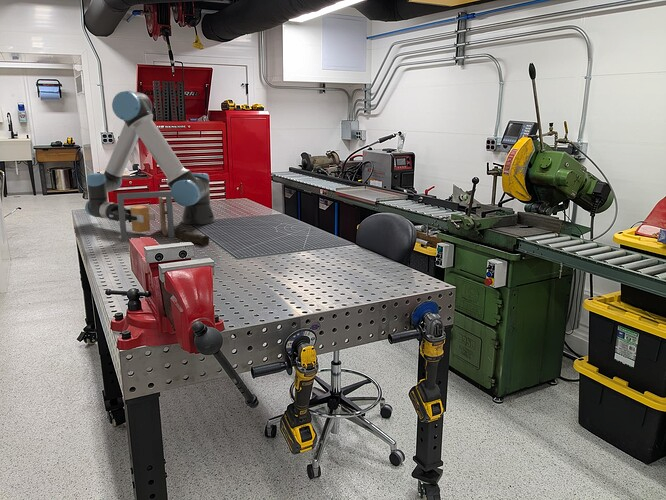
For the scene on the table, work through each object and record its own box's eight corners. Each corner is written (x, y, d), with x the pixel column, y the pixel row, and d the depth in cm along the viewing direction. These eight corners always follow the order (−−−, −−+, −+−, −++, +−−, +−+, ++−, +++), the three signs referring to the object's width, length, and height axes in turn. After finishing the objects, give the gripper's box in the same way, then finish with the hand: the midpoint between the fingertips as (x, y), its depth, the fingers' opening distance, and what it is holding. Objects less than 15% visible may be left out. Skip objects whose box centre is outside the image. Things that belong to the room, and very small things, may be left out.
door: (170, 234, 210) (168, 201, 206) (163, 235, 209) (161, 202, 205) (167, 228, 222) (165, 196, 218) (161, 228, 221) (158, 197, 217)
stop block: (132, 230, 211) (130, 207, 208) (142, 228, 215) (140, 205, 213) (140, 232, 209) (138, 208, 206) (150, 230, 213) (148, 207, 210)
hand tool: (210, 244, 199) (209, 233, 197) (202, 246, 195) (201, 235, 194) (180, 237, 210) (180, 226, 208) (172, 239, 206) (172, 228, 205)
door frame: (173, 235, 211) (170, 190, 206) (174, 236, 209) (171, 191, 204) (121, 240, 201) (116, 193, 196) (122, 241, 200) (117, 194, 195)
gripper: (131, 216, 228) (166, 223, 216) (95, 223, 213) (130, 230, 201) (129, 200, 226) (165, 206, 214) (93, 206, 211) (129, 212, 199)
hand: (148, 218), depth 208 cm, fingers closed on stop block, 5 cm apart
